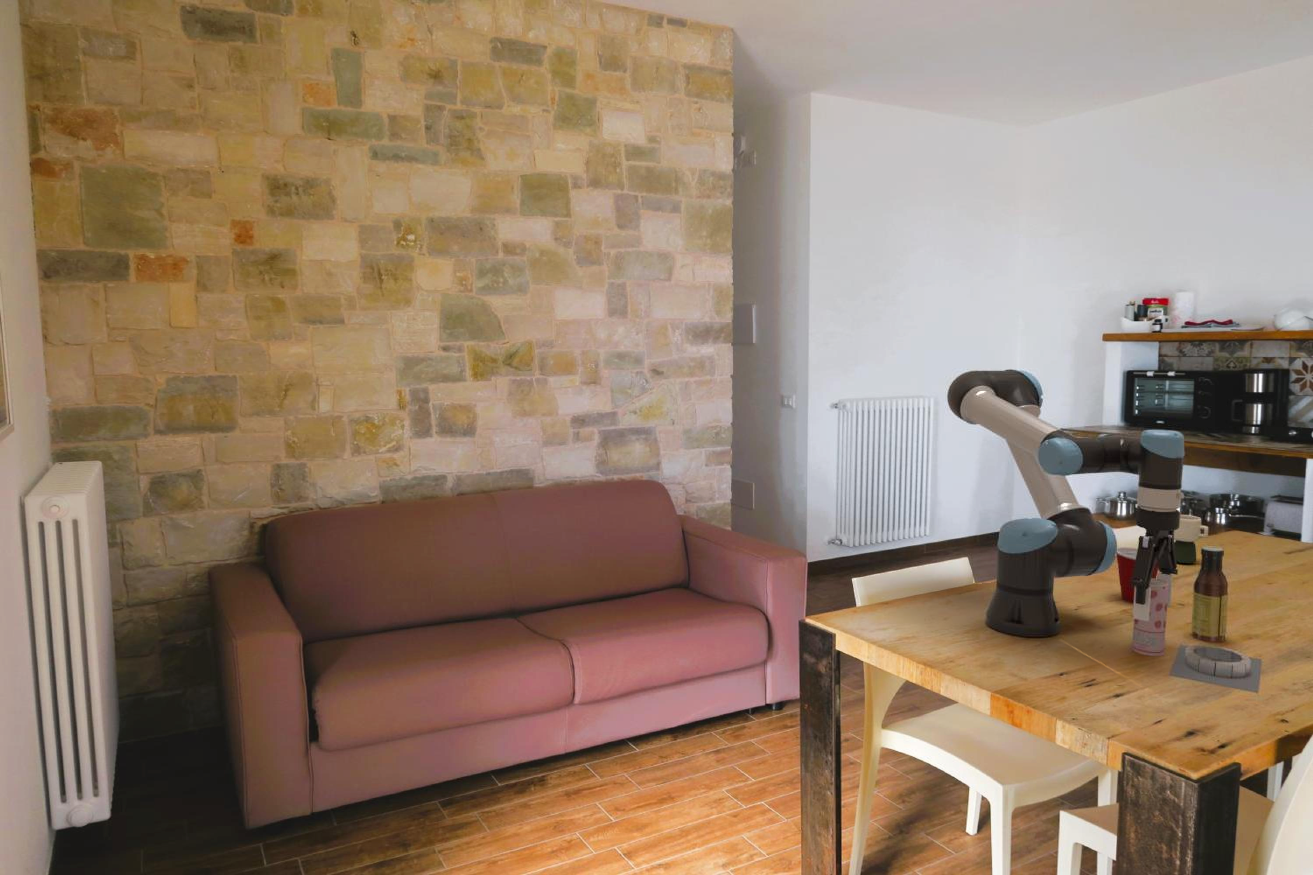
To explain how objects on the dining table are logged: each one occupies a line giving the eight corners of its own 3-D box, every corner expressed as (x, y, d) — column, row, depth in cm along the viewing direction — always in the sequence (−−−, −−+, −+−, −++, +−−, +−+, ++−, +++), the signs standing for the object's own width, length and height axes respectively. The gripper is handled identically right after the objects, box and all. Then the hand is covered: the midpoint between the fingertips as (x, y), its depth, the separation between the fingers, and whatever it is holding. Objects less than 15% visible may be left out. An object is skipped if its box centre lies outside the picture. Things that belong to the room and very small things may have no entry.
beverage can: (1127, 652, 182) (1132, 581, 180) (1137, 645, 186) (1142, 575, 184) (1158, 660, 178) (1163, 586, 176) (1167, 653, 181) (1172, 581, 180)
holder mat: (1257, 695, 161) (1258, 692, 161) (1168, 677, 169) (1169, 674, 169) (1261, 661, 177) (1261, 659, 177) (1180, 646, 185) (1180, 644, 185)
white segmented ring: (1213, 679, 167) (1214, 666, 167) (1172, 658, 177) (1173, 646, 177) (1262, 675, 169) (1263, 662, 168) (1219, 655, 179) (1220, 643, 178)
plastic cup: (1157, 610, 209) (1161, 560, 207) (1107, 601, 215) (1110, 552, 214) (1165, 598, 217) (1168, 550, 216) (1115, 590, 224) (1119, 544, 222)
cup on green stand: (1209, 563, 249) (1212, 518, 248) (1201, 568, 245) (1205, 522, 243) (1166, 556, 257) (1169, 512, 256) (1157, 561, 252) (1161, 515, 251)
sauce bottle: (1212, 634, 193) (1220, 544, 190) (1232, 644, 186) (1240, 551, 184) (1182, 634, 192) (1190, 544, 190) (1201, 644, 186) (1209, 551, 184)
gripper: (1159, 519, 166) (1152, 630, 169) (1198, 502, 184) (1191, 602, 186) (1116, 514, 172) (1110, 621, 174) (1158, 497, 189) (1152, 595, 191)
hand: (1152, 612), depth 180 cm, fingers open, 13 cm apart
